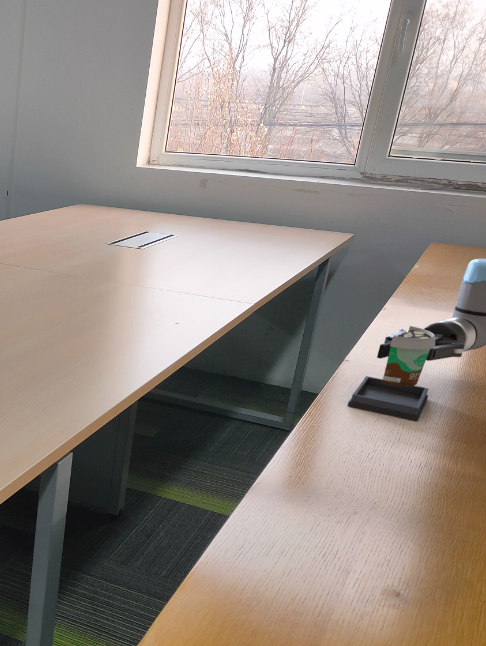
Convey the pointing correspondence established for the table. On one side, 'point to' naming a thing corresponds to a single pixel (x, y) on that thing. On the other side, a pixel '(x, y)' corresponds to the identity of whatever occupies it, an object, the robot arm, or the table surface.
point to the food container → (408, 357)
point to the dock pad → (389, 399)
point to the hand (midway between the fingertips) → (387, 353)
